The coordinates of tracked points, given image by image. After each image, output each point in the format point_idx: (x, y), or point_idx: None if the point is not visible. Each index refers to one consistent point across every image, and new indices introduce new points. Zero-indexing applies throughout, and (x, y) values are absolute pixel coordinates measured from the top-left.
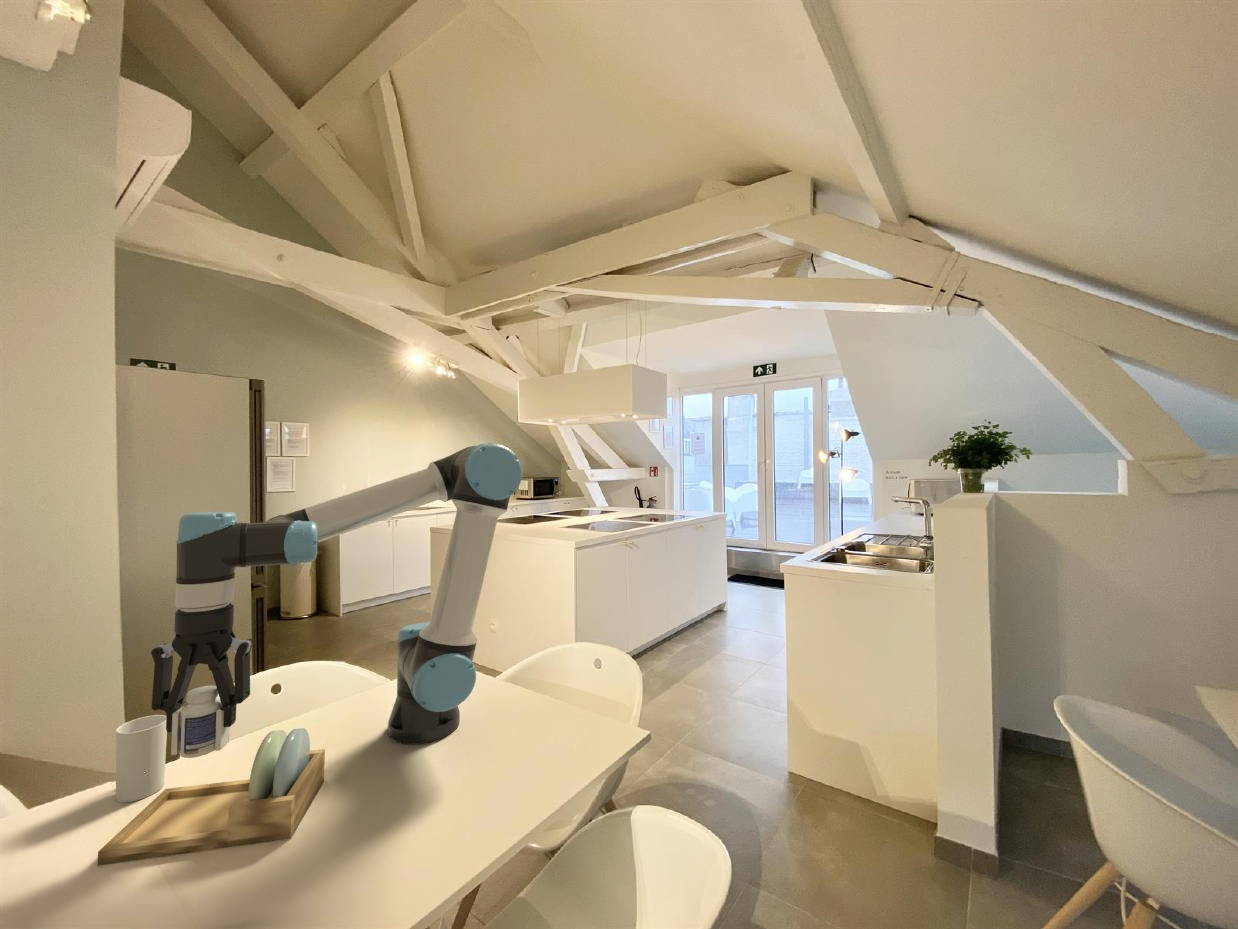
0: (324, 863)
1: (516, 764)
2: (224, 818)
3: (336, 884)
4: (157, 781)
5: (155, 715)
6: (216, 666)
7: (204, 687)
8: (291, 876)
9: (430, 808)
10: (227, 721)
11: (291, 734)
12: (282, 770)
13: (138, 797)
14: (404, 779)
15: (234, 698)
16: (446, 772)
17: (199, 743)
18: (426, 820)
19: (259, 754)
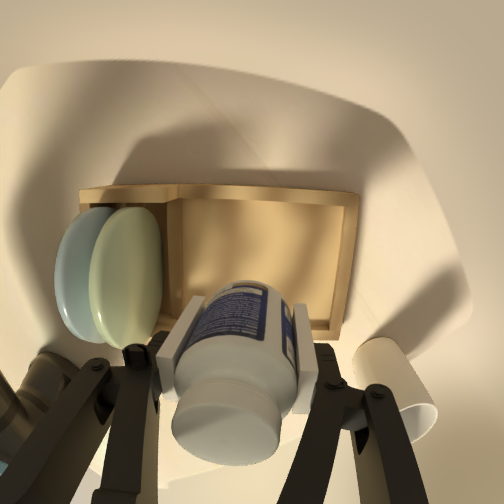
0: (67, 133)
1: None
2: (214, 246)
3: (54, 102)
4: (357, 362)
5: None
6: (95, 495)
7: (233, 457)
8: (92, 115)
9: (7, 213)
10: (161, 339)
11: (61, 295)
12: (74, 221)
13: (372, 341)
14: (39, 281)
15: (114, 380)
16: (11, 279)
17: (228, 295)
18: (6, 192)
19: (101, 252)
